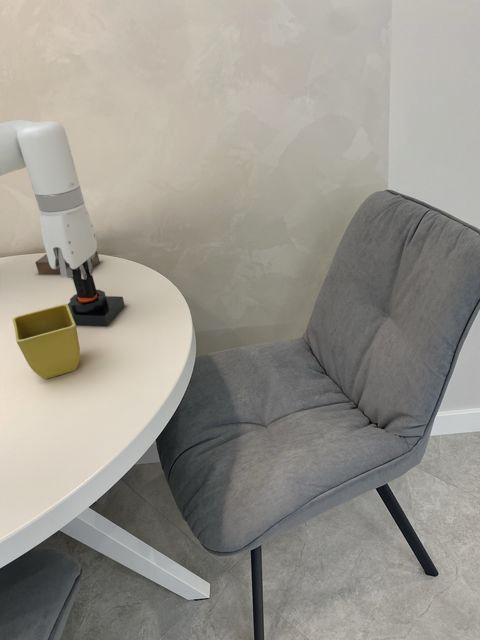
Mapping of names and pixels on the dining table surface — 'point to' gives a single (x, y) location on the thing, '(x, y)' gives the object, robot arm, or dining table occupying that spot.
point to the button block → (96, 310)
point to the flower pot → (48, 340)
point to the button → (87, 299)
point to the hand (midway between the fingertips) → (87, 295)
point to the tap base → (45, 267)
